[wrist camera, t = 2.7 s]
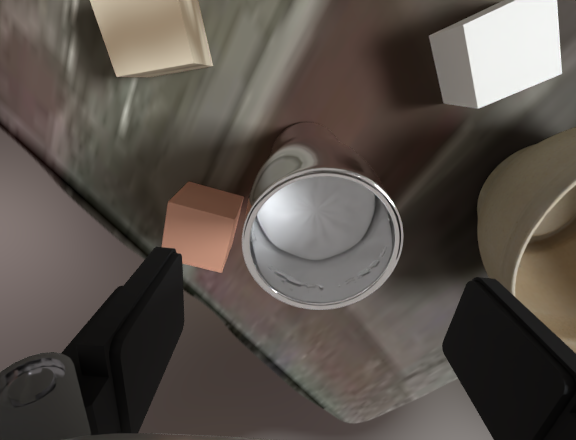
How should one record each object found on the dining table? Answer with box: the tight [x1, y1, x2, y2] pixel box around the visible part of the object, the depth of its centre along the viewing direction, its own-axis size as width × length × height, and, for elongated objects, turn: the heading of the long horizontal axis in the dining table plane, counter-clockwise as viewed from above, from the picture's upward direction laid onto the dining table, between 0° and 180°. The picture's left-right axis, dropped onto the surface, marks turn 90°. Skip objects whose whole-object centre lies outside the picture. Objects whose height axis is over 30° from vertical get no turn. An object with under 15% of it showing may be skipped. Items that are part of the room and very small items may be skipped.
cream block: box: [429, 0, 562, 109], centre depth 21 cm, size 5×5×5 cm
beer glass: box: [242, 122, 404, 310], centre depth 19 cm, size 7×7×15 cm
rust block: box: [162, 181, 244, 273], centre depth 26 cm, size 5×5×5 cm
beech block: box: [90, 0, 213, 77], centre depth 20 cm, size 5×5×5 cm
